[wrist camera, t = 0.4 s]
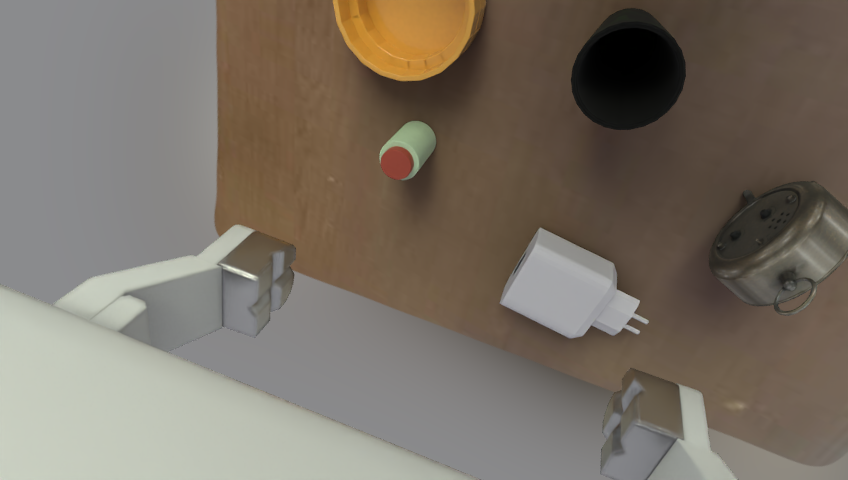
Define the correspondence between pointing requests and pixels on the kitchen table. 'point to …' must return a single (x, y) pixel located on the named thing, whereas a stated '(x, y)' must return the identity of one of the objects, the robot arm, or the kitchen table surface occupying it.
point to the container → (407, 150)
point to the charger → (568, 289)
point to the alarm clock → (781, 245)
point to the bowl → (408, 33)
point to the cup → (628, 71)
